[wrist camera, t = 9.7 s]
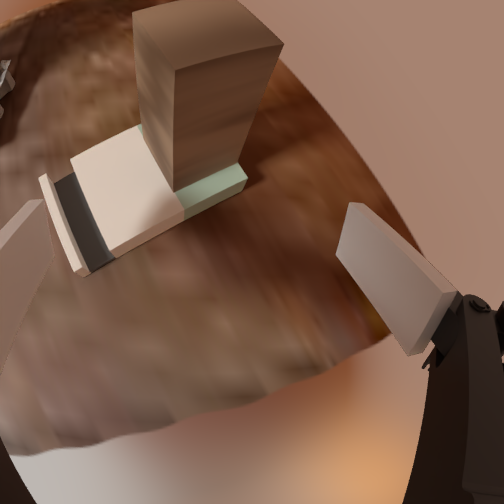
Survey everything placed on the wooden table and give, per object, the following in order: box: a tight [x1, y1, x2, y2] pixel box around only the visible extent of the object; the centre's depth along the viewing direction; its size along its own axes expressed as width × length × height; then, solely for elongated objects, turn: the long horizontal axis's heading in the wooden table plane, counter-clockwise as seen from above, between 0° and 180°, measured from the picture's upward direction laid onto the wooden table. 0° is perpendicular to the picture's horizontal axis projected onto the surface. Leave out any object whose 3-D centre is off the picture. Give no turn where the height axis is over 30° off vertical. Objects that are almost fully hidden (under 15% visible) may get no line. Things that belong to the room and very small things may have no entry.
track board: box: [39, 124, 248, 277], centre depth 19 cm, size 7×12×2 cm, turn 123°
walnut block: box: [132, 0, 284, 193], centre depth 14 cm, size 4×4×10 cm
